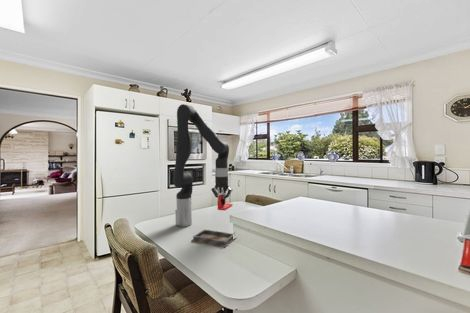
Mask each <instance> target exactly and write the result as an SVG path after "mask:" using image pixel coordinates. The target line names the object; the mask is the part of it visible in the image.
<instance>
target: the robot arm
mask: <svg viewBox="0 0 470 313" xmlns="http://www.w3.org/2000/svg"><path fill="white" fill-rule="evenodd" d="M189 122H191V124H193V125H194V126H195V127H196V129H197V131H198V133H199V134H200V135H201V137H202V138H203V139H204V140H205V141H206V142H207V143H208V145H209V146H210V147H211V149H212V150H213V151H214V152H215V153H216V154H217V157H216V159H215V171H214V173H215V174H214V176H215V178H214V183H215V185H214V187H212V188H211V192H212V193H213V196H214V197H215V198H217V199H218V197H219V195H222V205H225V204H226V199H228V198H229V196H230V195H231V194H232V192H233V189H232V188H230V187H229V170H228V160H229V154H230V146H229V144H228V143H227V141H226V142H225V141H221V140H220V139H219V137H218V135H217V133H216V132H215V131H214V130H213V129H212V128H211V127H210V126H209V125H208V124H207V123H206V122H205V121H204V119H203V118H202V117H201V116H200V114H199V112H197V110H196V108H194V106H191V105H188V104H184V103H183V104H180V105H179V106H178V108H177V110H176V123H177V124H176V125H177V132H176V145H175V146H176V147H175V148H176V152H175V165H174V170H173V176H172V177H173V178H172V179H173V180H172V182H173V185H174V187H175V189H176V188H177V189H180V188H181V189H180V190H179V191H178V192H177V193H176V209H175V225H176V226H178V227H181V228H182V227H183V228H184V227H189V226H191V225H192V224H193V220H192V219H193V218H192V216H193V214H192V212H193V211H192V194H193V188H194V187H193V185H194V182H193V176H192V174H191V173H190V172H188V171H186V172H185V166H186V165H187V162H188V160H189V158H190V156H191V154H192V148H193V147H192V145H193V144H192V143H193V142H192V137H191V134H190V132H189Z"/></svg>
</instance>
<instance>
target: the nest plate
mask: <svg viewBox="0 0 470 313" xmlns="http://www.w3.org/2000/svg"><path fill="white" fill-rule="evenodd" d="M233 234H234V233H232V232H231V233H229V232H223V231H218V230H210V229H203V230H201V231H200V232H198V233H196V234H194V235H193V236H192V239H191V242H195V243H199V244H204V243H205V245H211V246H216V247H219V248H220V247H221V248H227V247H228V246H229V245H230V244H232V242H234V241H235V240H234V239H233Z"/></svg>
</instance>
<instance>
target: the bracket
mask: <svg viewBox="0 0 470 313" xmlns="http://www.w3.org/2000/svg"><path fill="white" fill-rule="evenodd" d="M231 207H233V203H228V202H225V205H222V195H219V197H218V198H217V210H218V211H225V212H226V211H227V210H229V208H231Z"/></svg>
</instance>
